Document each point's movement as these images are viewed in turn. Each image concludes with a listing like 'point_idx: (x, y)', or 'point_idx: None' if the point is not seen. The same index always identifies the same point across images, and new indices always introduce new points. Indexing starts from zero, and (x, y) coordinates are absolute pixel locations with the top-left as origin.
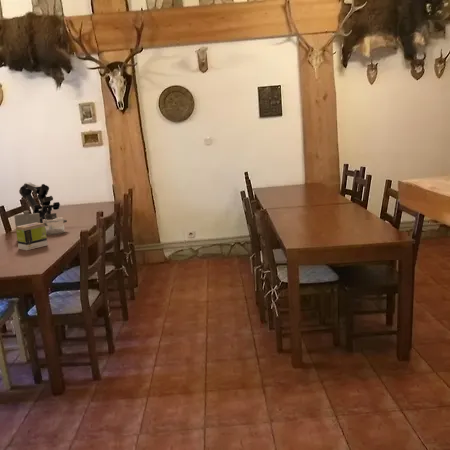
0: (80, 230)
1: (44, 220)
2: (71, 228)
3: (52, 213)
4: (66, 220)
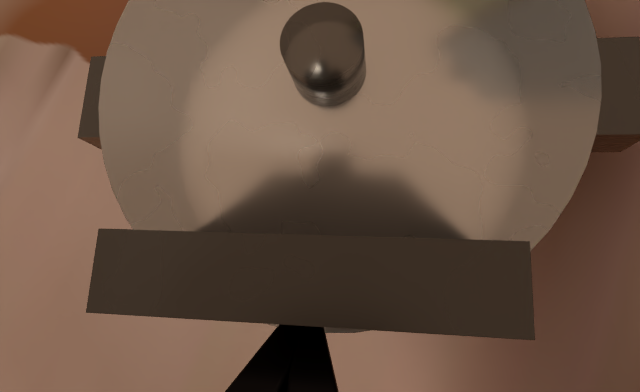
0: (75, 64)
1: (596, 41)
2: (64, 294)
3: (198, 310)
4: (101, 61)
